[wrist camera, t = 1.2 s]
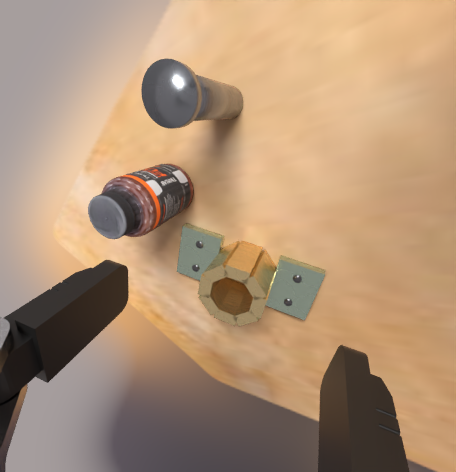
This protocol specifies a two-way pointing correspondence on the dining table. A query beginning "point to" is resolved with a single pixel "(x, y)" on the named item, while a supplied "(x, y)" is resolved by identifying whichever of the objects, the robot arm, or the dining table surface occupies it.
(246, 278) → the hinge body
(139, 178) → the supplement bottle
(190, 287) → the dining table surface
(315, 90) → the dining table surface
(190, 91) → the steel pin
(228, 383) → the dining table surface
